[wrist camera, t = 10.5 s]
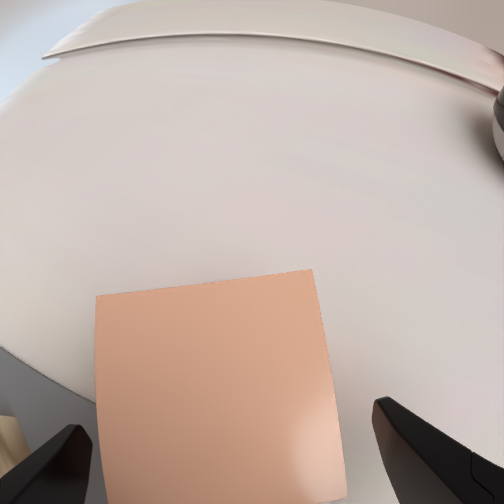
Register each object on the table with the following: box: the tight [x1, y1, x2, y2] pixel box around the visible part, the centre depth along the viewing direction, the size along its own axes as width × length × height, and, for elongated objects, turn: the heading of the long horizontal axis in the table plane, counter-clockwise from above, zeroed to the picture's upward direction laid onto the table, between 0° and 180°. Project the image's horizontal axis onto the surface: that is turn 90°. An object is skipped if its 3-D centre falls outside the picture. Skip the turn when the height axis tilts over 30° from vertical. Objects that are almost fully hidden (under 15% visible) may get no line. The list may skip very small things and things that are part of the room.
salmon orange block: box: [95, 269, 348, 504], centre depth 12 cm, size 6×6×9 cm
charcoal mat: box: [0, 347, 108, 504], centre depth 13 cm, size 14×14×1 cm
